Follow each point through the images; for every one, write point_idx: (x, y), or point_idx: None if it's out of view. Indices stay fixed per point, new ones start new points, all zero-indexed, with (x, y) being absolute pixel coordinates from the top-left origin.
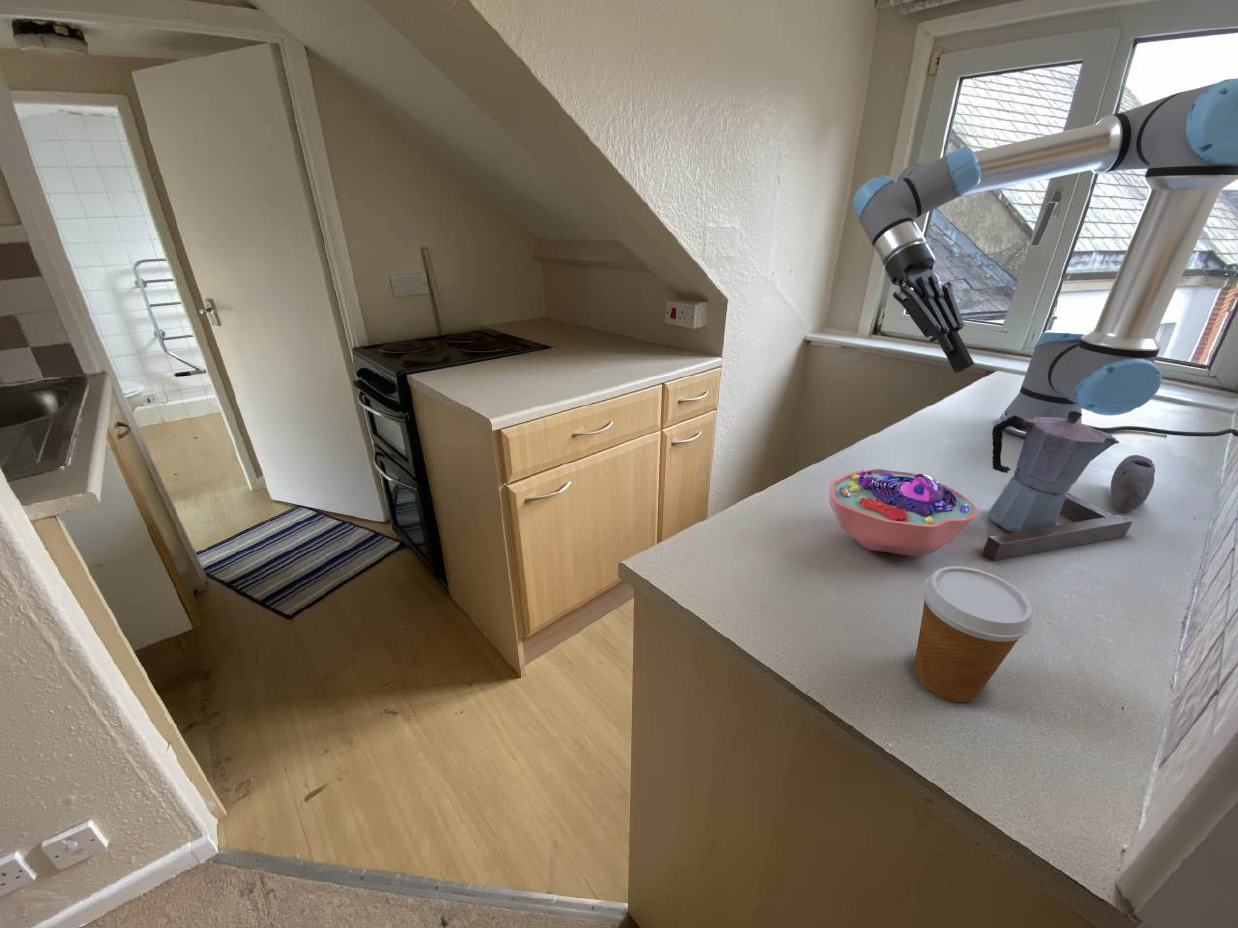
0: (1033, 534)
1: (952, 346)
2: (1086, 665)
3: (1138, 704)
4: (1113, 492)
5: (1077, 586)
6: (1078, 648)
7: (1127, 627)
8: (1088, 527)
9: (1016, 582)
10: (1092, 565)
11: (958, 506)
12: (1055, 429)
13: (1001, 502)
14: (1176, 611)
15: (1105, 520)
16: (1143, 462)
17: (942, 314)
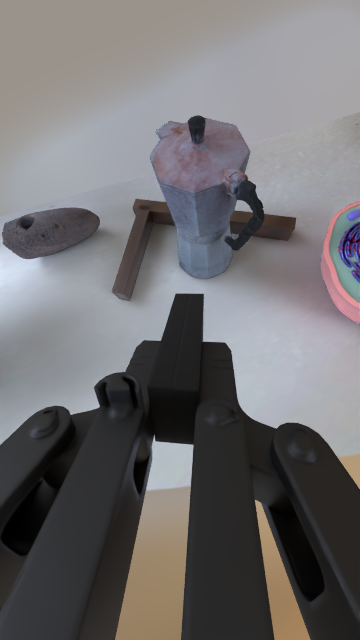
0: (248, 216)
1: (215, 352)
2: (341, 146)
3: (344, 123)
4: (81, 234)
5: (256, 189)
6: (330, 155)
7: (273, 155)
8: None
9: (299, 207)
10: None
11: (352, 223)
12: (234, 145)
13: (225, 254)
14: None
15: (156, 207)
16: (19, 223)
17: (95, 614)
